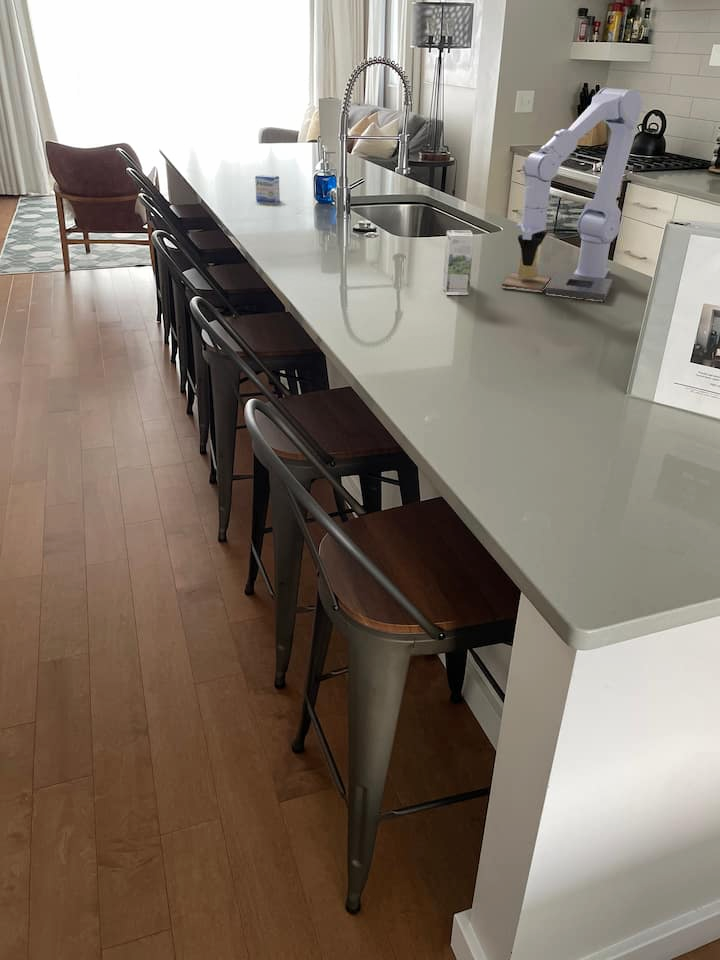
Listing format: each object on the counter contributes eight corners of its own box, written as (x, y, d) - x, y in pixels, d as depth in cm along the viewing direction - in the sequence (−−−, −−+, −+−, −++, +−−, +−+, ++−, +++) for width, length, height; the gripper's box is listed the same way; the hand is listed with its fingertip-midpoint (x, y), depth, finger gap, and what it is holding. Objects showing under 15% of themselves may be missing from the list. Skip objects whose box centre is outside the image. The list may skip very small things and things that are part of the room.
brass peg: (521, 273, 200) (525, 241, 196) (537, 275, 199) (541, 243, 195) (518, 277, 197) (521, 244, 193) (534, 279, 195) (538, 246, 191)
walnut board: (512, 276, 205) (512, 272, 205) (550, 281, 202) (551, 276, 201) (501, 288, 196) (502, 283, 195) (541, 293, 192) (542, 288, 192)
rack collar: (555, 281, 202) (556, 273, 201) (611, 287, 198) (612, 279, 197) (544, 295, 191) (545, 287, 190) (604, 302, 186) (605, 294, 185)
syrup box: (465, 289, 195) (470, 229, 188) (469, 296, 190) (474, 234, 183) (442, 289, 195) (446, 229, 187) (445, 296, 190) (449, 234, 182)
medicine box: (255, 200, 293) (254, 176, 289) (260, 198, 297) (259, 174, 293) (275, 202, 291) (274, 177, 287) (280, 200, 295) (279, 175, 291)
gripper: (525, 200, 197) (519, 255, 203) (512, 210, 185) (506, 268, 192) (553, 202, 194) (546, 257, 201) (542, 213, 183) (535, 271, 189)
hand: (529, 263), depth 196 cm, fingers closed on brass peg, 4 cm apart
